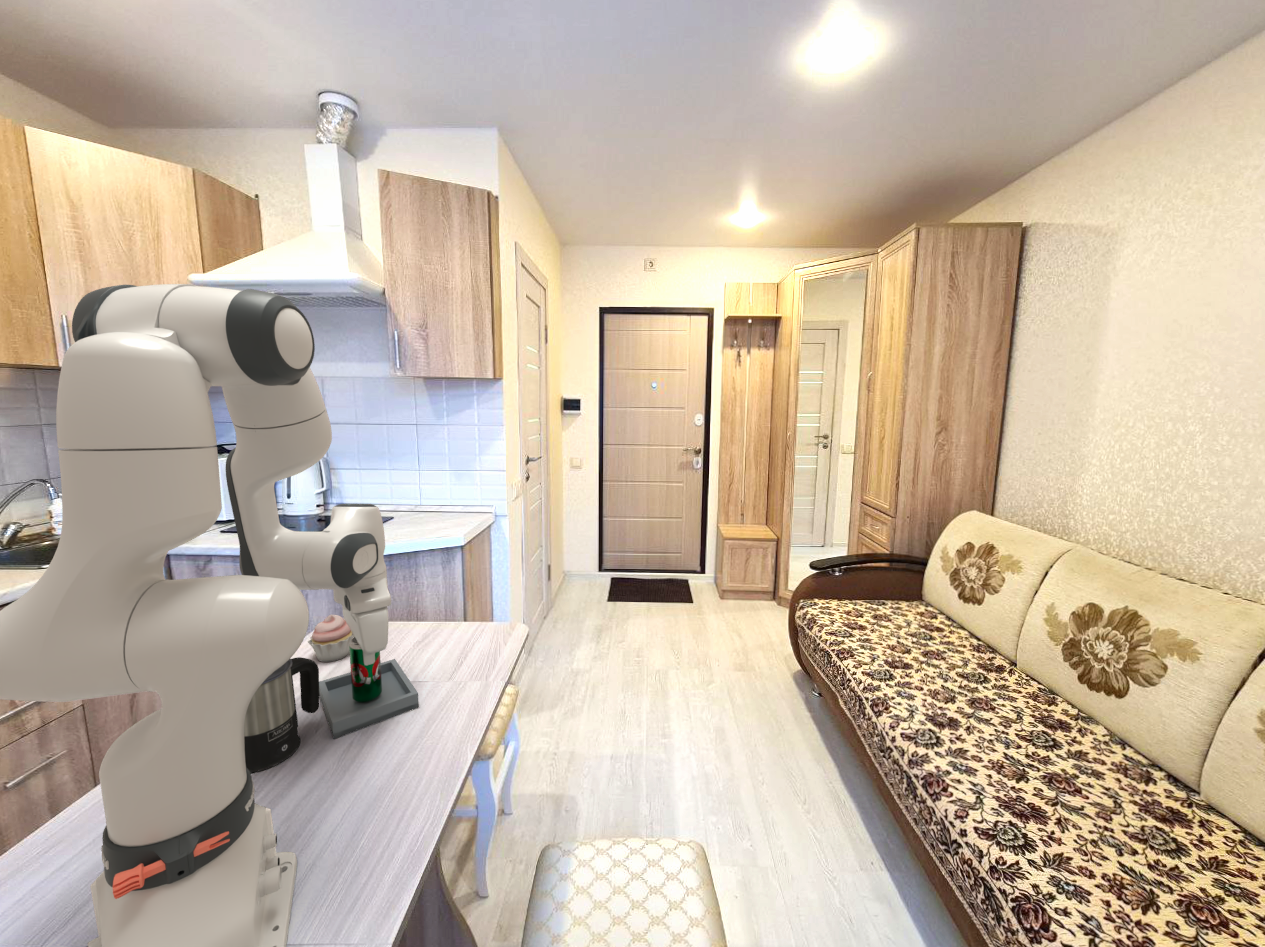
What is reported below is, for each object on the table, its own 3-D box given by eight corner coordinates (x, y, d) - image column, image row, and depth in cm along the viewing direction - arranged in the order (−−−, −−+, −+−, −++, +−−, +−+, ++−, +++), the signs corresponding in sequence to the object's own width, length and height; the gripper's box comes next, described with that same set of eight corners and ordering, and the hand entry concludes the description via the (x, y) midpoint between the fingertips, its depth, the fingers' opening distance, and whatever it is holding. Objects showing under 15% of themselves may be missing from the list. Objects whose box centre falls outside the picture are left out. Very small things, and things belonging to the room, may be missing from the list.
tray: (418, 707, 91) (418, 692, 91) (333, 739, 82) (332, 723, 82) (395, 671, 103) (394, 658, 103) (319, 696, 94) (318, 682, 94)
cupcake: (300, 667, 104) (297, 624, 103) (321, 646, 113) (318, 606, 112) (347, 665, 106) (344, 622, 104) (363, 644, 115) (361, 605, 113)
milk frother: (271, 776, 74) (263, 687, 72) (172, 772, 74) (161, 684, 72) (331, 717, 88) (325, 642, 86) (247, 714, 88) (240, 639, 86)
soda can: (377, 685, 96) (374, 629, 94) (386, 696, 93) (382, 638, 91) (349, 696, 92) (345, 637, 91) (357, 707, 89) (353, 647, 87)
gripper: (331, 575, 95) (335, 640, 97) (353, 608, 80) (357, 685, 82) (366, 569, 99) (370, 631, 101) (393, 599, 84) (397, 672, 86)
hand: (365, 656), depth 91 cm, fingers closed on soda can, 5 cm apart
